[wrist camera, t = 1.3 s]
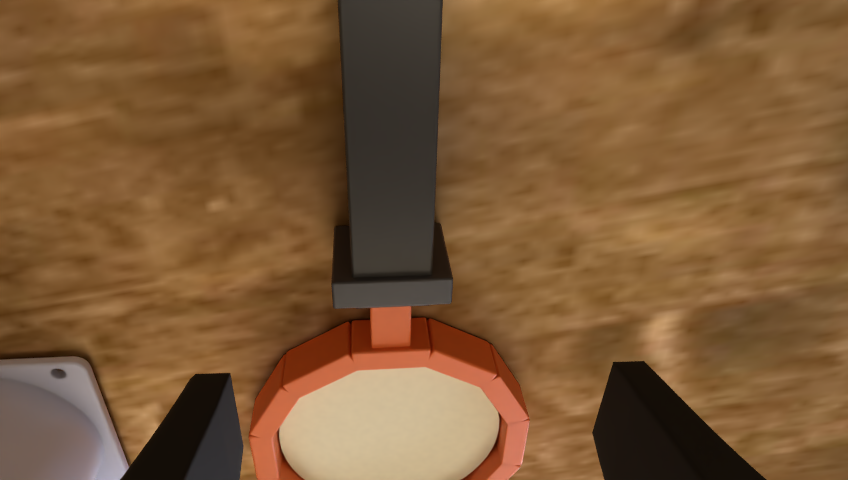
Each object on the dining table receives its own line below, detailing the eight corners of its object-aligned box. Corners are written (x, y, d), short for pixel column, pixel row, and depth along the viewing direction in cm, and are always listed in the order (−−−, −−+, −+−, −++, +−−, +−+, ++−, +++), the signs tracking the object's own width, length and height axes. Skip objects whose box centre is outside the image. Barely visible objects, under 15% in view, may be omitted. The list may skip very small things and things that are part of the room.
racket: (273, 503, 29) (264, 576, 26) (166, -77, 15) (123, -57, 12) (504, 486, 30) (520, 556, 27) (590, -71, 16) (639, -51, 13)
